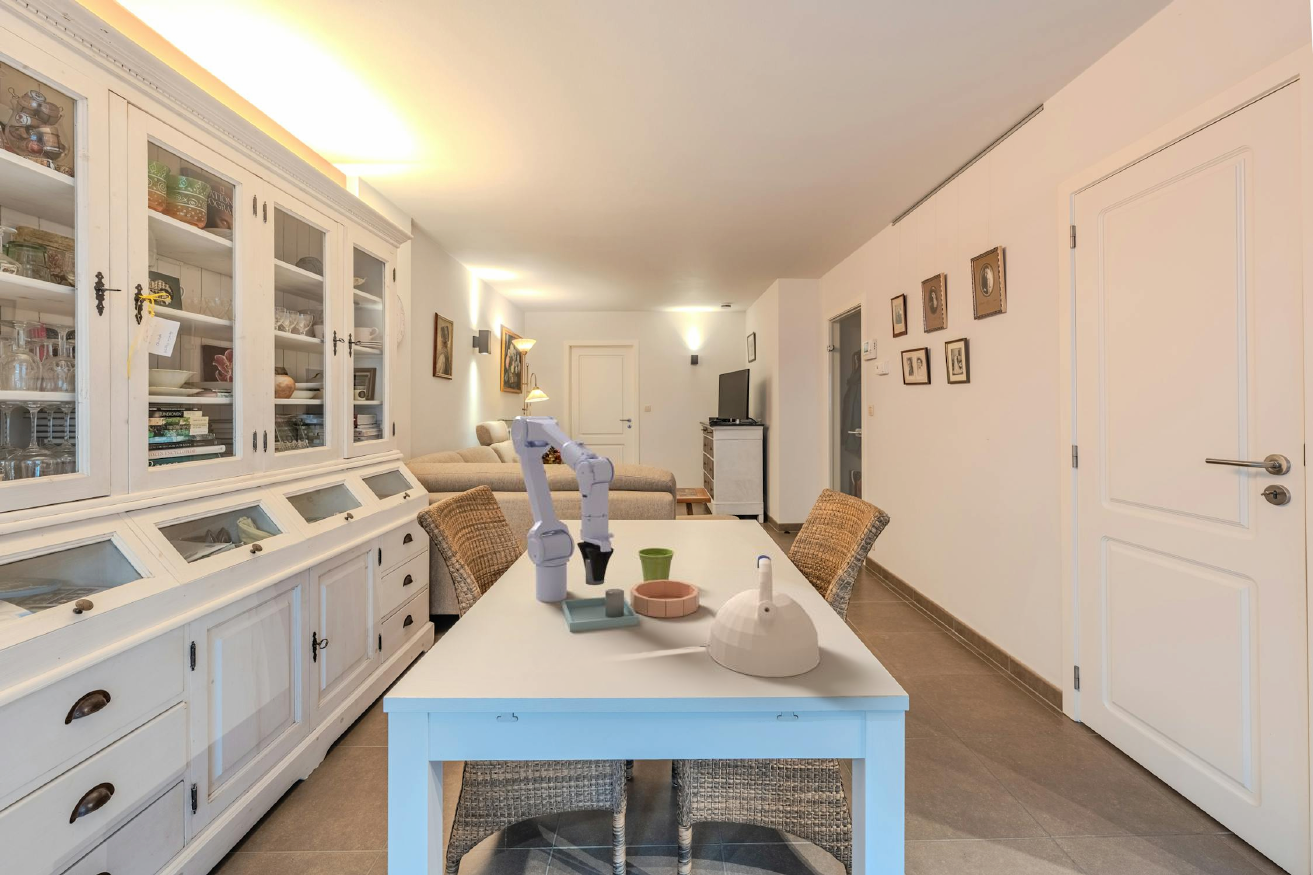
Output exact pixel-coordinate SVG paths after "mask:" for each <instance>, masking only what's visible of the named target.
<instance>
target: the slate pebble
mask: <svg viewBox="0 0 1313 875" xmlns="http://www.w3.org/2000/svg"><path fill="white" fill-rule="evenodd" d="M604 597H605V615H606V616H607V617H610V618H617V617H622V616H623V615H624V597H625V591H624V589H621V588H609V589H607V590H605V595H604Z"/></svg>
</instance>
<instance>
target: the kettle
mask: <svg viewBox="0 0 1313 875" xmlns="http://www.w3.org/2000/svg"><path fill="white" fill-rule="evenodd" d="M756 564H757V569H758V576H759V578H758V579H759V580H758V588H753V589H748V590H744V591H741V592H738V594H736V595H735V596H733V597H732V598H730V599H729V600H727V601H726V602H725V603H724V604H723V606H722V607H720V608H719V610H717V611H718V612H717V614H716V616H715V617H714V620H713V623H712V625H711V627H710V635H709V645H708V651H709V652H708V653H709V655H710V656H711V658H712V659H714V661H715V662H716V663H719V665H721V666H723V668H727V669H729V670H731V671H733V672H737V673H739V674H745V675H748V676H755V677H761V678H787V677H788V678H789V677H794V676H795V677H796V676H799V675H802V674H806V673H808V672H810V671H811V670H813V669H815V668H816V667H817V665H818V664H819V663H820V660H821V659H820V657H821V656H820V650H819V648H820V647H819V637H818V631H817V629H816V627H815V624H814V621H813V620H812V618H811V617H810V615H809V614H808V612H807V611H806V610H805V609H804V608H803V606H802V605H801V604H800V603H798V602H797V601H796V600H795V599H793V598H792V596H789V595H788V594H786V593H783V592H780V591H777V590H776V589H775V590H774V589H773V568H772V566H773V565H772V559H771V558H770V556H768V555H759V556H758V557H757V563H756Z"/></svg>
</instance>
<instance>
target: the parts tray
mask: <svg viewBox="0 0 1313 875" xmlns="http://www.w3.org/2000/svg"><path fill="white" fill-rule="evenodd" d="M561 610H562V613H563V616H564V619H565V621H566V625H567V628H568V631H569V632H570V633H571V632H579V631H581V632H582V631H589V630H591V631H592V630H600V629H601V630H602V629H610V628H620V627H629V626H631V627H632V626H639V615H638V614H637V612H636V611H634V610H633V608H632V607H631V605H630V601H628V599H627V598H626V597H625V596H624V615H623V616H622V617H617V618H610V617H607V616H606V615H605V596H602V597H601V596H600V597H589V598H588V597H587V598H577V599H566V600H565V599H563V600H561Z"/></svg>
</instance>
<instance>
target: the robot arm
mask: <svg viewBox="0 0 1313 875" xmlns="http://www.w3.org/2000/svg"><path fill="white" fill-rule="evenodd" d="M509 431H510V432H509V433H510V437H511V441H512V445H513V450H514V452H515V454H516V455H517V456H518V459H519V462H520V463H519V464H520V468H521V471H522V476H523V480H524V484H525V488H526V494H527V497H528V501H529V506H530V509H531V513H532V518H533V522H534V524H533V526H532V527H531V529H530V530H529V531H528V532H527V533H526V541H527V542H526V543H527V549H526V550H527V555H528V558H529V559H530V561H531V562H532V564H534V565H535V599H536V601H540V602H544V603H554V602H560V601H562V600H565V599H566V598H568V596H567V595H568V593H567V591H568V585H567V584H568V579H567V578H568V574H567V573H568V572H567V570H568V567H567V566H568V562H570V558H571V557H572V556H573V554H574V552H575V546H577V548H578V549H579V550H580V554H581V557H582V560H583V565H584V569H585V570H584V571H586V559H587V558H589V559H590V563H591V570H592V577H593V581H594V582H596V581H603V580H604V581H605V576H606V573H607V572H606V571H607V568H608V564H609V561H610V559H611V557H612V555H613V554H614V551H615V550H614V549H615V548H613V547H612V541H610V539H612V538H614V536H615V534H614V533H612V532H609V501H610V500H609V495H610V494H609V491H610V490H609V486H610V485H609V484H611V483H612V482H613V481H614V478H615V466H614V463H613V462H612V460H611V459H610V458H609V457H608V456H604V457H600V456H598V455H596V452H594V451H592V450H590V449H589V448H588V447H587V446H586V445H585V444H584V441H582V440H571V438H569V436H568V435H567V434H566V433H565V432H564V431H563V430H562V429H561V428H560V427H559V421H558V420H557V419H555V417H553V416H552V415H546V416H521V415H518V416H516V417H514V419H513V421H512V424H511V427H510V430H509ZM551 447H553V449H556V451H558V452H560V458H561V460H562V462H563V463H564V464H565V465H566V466H568V467H569V468H570V469H571V470H572V471H573V472H574V473H575V480H576V481H577V483H578V491H579V494H581V528H580V537H579V538H580V540H581V542H577V545H575V544H576V543H575V540H574V538H573V536H572V535H571V532H570V531H569V527H568V525H567V524H566V523H564V522H562V521H561V520H559V519H558V518H557V514H556V510H555V507H554V503H553V498H552V493H551V490H550V487H549V486H550V485H549V483H548V482H549V481H548V478H547V475H546V470H545V467H544V462H543V459H542V457H543V456H544V455H545V454H546V453H548V452H549V451H550V449H551Z"/></svg>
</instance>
